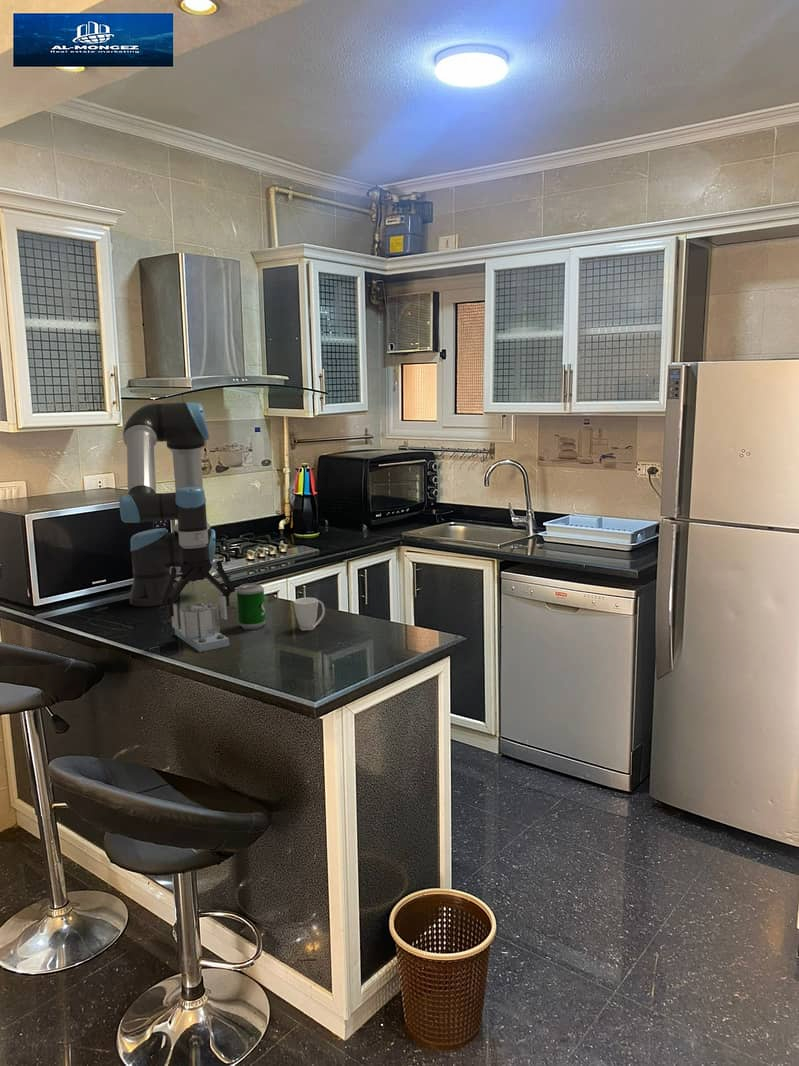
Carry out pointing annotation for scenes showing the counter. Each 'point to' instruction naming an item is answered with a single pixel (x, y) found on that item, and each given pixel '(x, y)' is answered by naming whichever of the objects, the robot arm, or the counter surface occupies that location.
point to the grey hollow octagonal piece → (199, 620)
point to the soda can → (251, 606)
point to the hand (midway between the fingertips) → (200, 623)
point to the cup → (308, 612)
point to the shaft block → (204, 639)
